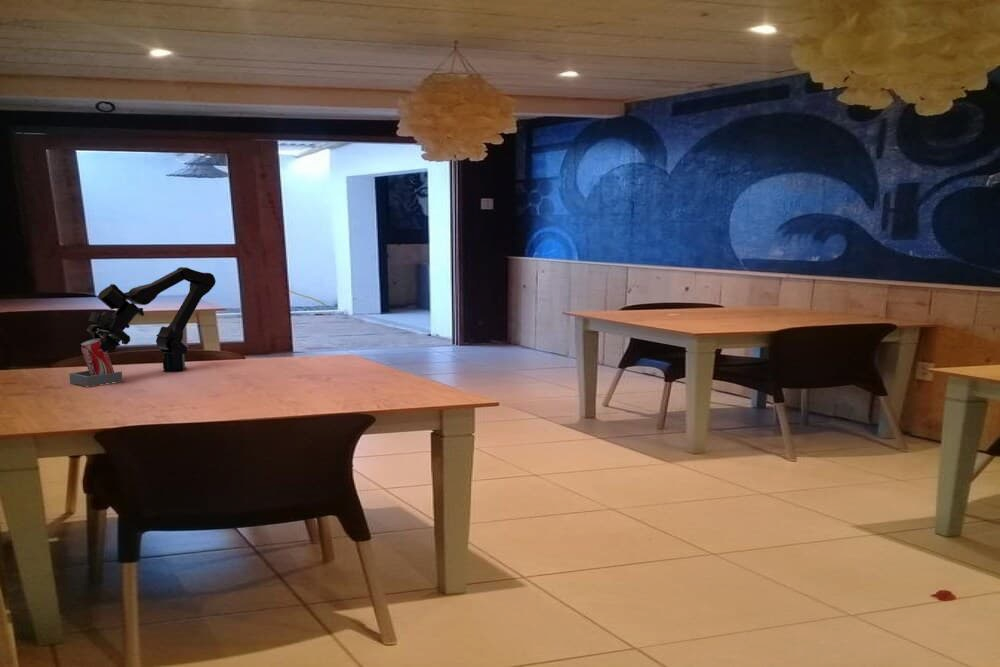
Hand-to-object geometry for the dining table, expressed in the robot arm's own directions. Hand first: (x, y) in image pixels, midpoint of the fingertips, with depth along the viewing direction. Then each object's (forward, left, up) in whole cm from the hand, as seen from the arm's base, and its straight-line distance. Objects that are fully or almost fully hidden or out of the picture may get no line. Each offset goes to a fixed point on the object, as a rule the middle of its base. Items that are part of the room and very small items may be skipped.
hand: (92, 354), depth 255 cm
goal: (0, 0, -10) cm, 10 cm away
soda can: (-2, -2, -8) cm, 9 cm away
